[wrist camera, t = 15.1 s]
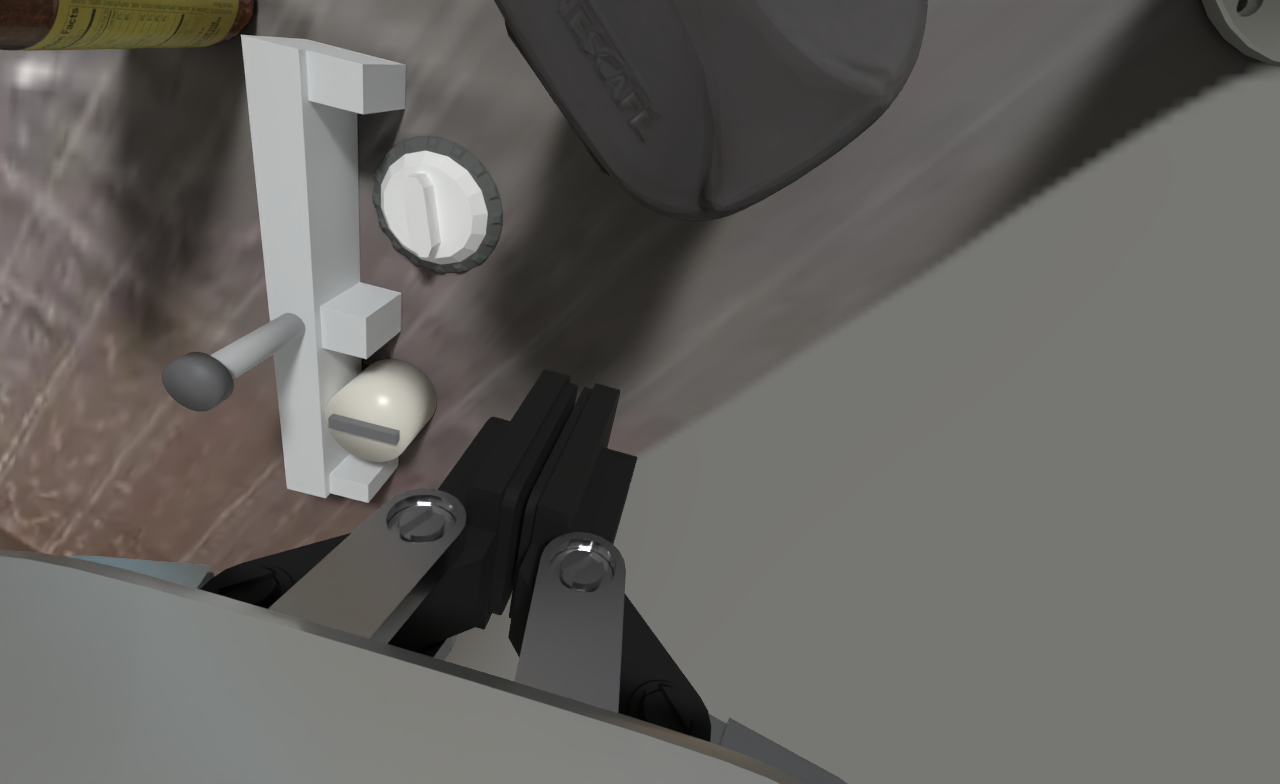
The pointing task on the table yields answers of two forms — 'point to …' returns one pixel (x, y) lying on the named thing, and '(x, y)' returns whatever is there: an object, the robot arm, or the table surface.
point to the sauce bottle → (119, 23)
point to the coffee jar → (716, 87)
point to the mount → (308, 255)
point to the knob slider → (381, 410)
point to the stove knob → (438, 204)
